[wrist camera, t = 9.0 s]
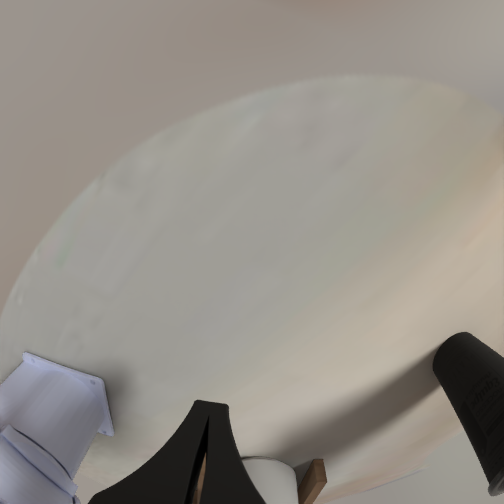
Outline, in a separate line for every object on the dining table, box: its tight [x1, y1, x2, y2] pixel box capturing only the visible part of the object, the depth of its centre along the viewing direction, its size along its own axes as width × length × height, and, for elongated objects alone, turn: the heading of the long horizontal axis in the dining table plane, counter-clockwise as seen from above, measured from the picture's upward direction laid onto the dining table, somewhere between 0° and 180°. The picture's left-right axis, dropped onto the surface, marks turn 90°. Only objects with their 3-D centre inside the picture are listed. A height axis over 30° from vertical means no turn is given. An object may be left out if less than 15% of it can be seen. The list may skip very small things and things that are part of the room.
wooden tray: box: [193, 454, 327, 504], centre depth 25 cm, size 14×10×3 cm
